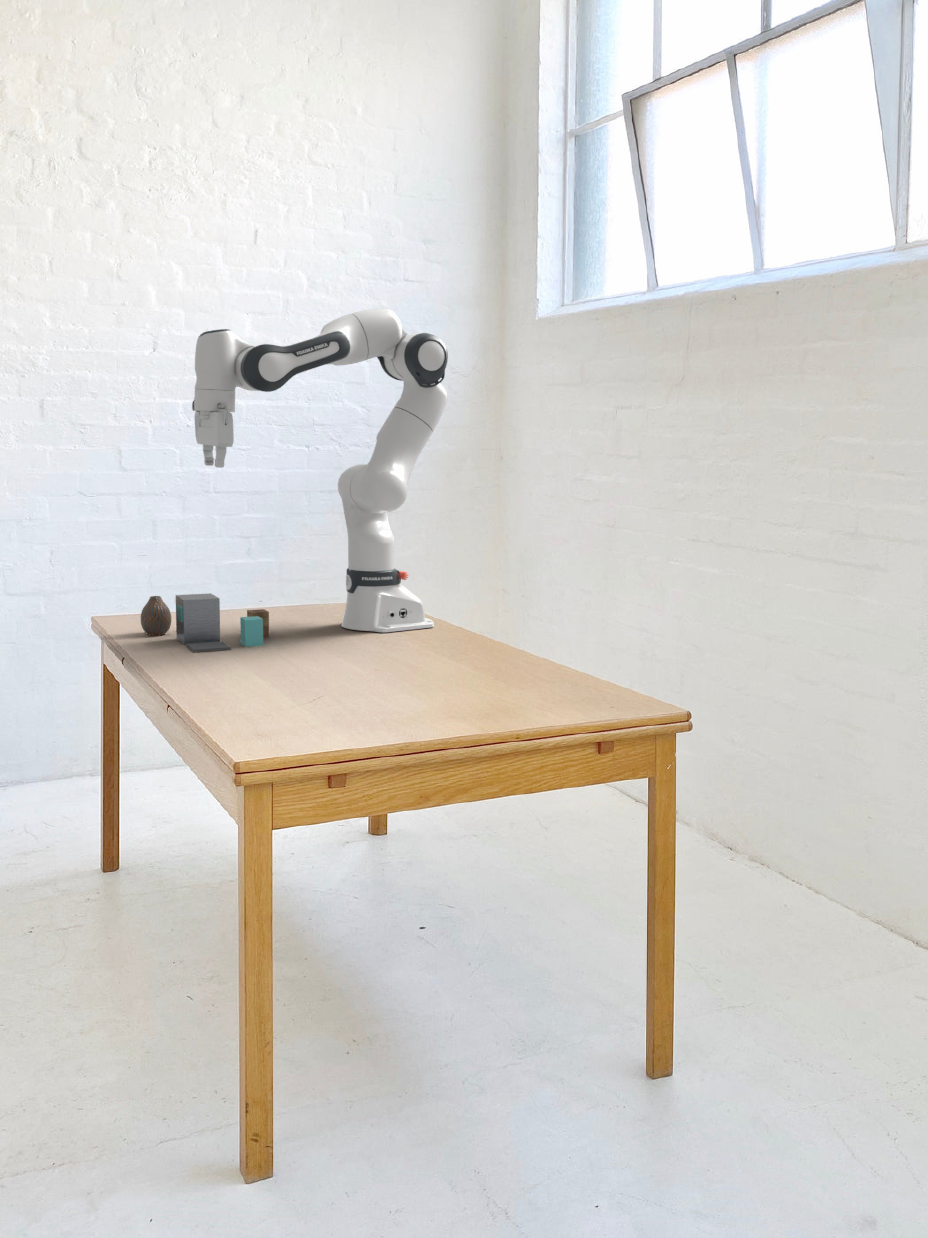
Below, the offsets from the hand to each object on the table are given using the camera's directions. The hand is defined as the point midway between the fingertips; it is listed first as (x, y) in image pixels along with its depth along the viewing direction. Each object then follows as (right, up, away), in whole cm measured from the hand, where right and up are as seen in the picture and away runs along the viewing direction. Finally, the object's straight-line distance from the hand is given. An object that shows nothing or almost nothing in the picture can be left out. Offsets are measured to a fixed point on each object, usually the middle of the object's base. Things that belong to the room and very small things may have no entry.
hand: (214, 466), depth 267 cm
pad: (0, -41, -6) cm, 41 cm away
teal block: (+9, -40, -1) cm, 41 cm away
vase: (-15, -38, +9) cm, 42 cm away
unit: (-4, -39, +2) cm, 39 cm away
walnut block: (+8, -38, +9) cm, 40 cm away
